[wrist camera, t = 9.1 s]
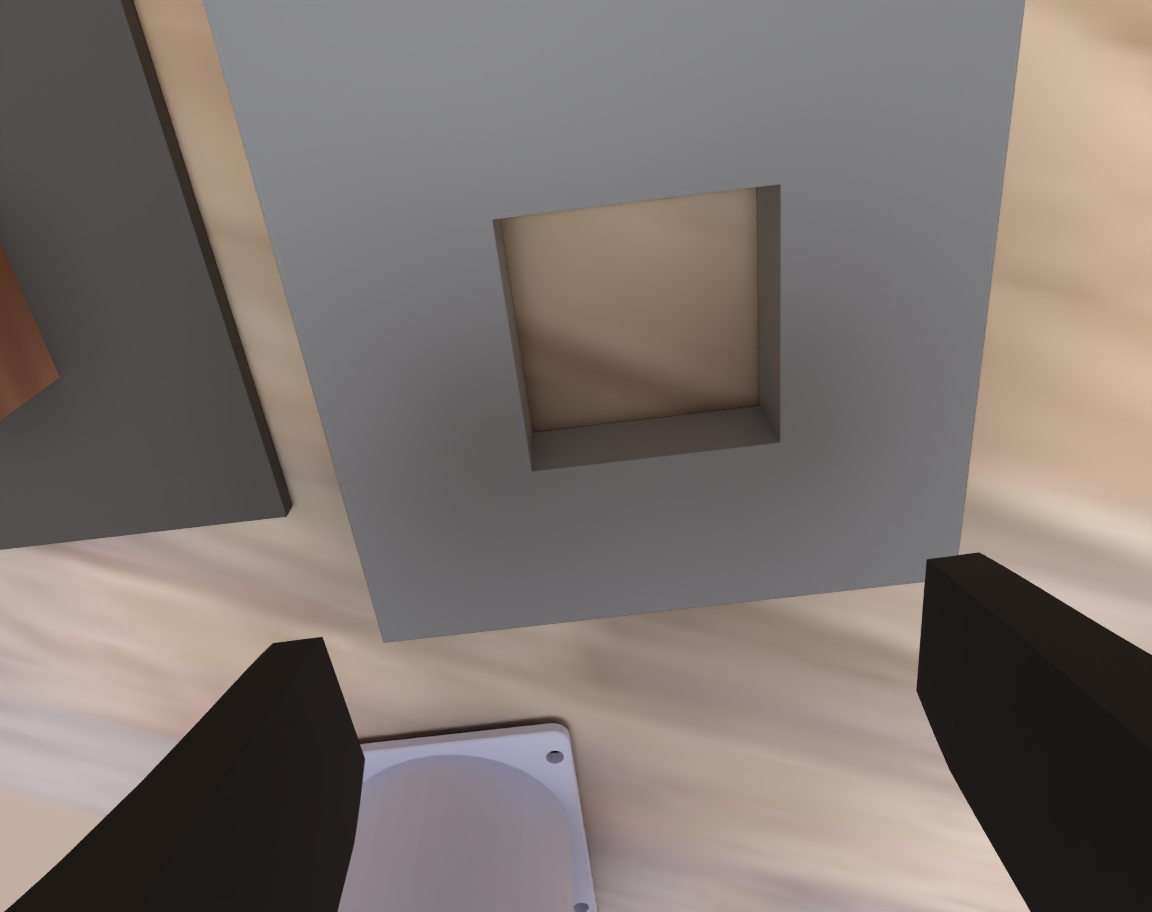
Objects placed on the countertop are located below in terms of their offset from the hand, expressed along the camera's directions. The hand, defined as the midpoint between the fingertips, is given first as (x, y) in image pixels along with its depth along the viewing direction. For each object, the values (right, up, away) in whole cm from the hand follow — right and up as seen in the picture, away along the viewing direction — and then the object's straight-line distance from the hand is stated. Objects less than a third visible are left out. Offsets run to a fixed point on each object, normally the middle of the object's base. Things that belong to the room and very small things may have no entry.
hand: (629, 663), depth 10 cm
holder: (+1, +6, +9) cm, 11 cm away
